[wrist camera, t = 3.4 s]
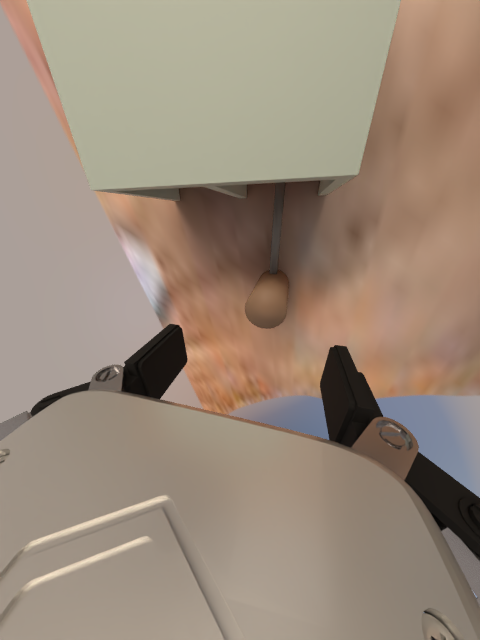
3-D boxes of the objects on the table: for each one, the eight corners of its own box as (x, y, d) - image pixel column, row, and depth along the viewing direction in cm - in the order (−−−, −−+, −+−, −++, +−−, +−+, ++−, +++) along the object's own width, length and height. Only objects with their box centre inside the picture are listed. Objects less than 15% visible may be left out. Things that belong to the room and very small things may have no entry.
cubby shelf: (374, -64, 10) (662, -1069, 2) (326, 195, 16) (358, 174, 8) (143, 9, 14) (-70, -282, 6) (174, 200, 20) (91, 190, 12)
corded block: (325, 77, 13) (351, -37, 7) (293, 300, 22) (293, 332, 16) (256, 89, 14) (229, -1, 8) (251, 296, 23) (236, 324, 17)
